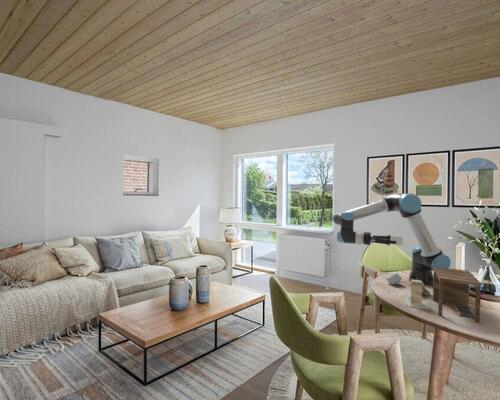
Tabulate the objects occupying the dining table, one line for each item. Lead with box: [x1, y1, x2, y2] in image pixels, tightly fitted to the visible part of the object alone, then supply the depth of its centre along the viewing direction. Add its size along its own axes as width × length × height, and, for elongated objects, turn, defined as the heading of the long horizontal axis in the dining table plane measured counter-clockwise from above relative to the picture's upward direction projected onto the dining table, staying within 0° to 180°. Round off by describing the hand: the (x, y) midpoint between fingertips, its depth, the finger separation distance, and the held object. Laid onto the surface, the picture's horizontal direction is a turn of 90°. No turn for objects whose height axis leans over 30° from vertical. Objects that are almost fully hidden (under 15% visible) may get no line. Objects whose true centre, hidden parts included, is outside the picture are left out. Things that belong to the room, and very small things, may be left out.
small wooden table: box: [432, 267, 482, 324], centre depth 151 cm, size 25×16×18 cm, turn 154°
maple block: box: [409, 280, 423, 306], centre depth 159 cm, size 5×5×12 cm
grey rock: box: [385, 271, 402, 286], centre depth 195 cm, size 8×9×10 cm
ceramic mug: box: [419, 280, 432, 296], centre depth 176 cm, size 10×8×7 cm
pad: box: [404, 298, 431, 310], centre depth 159 cm, size 12×11×1 cm
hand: (402, 241), depth 171 cm, fingers open, 13 cm apart
